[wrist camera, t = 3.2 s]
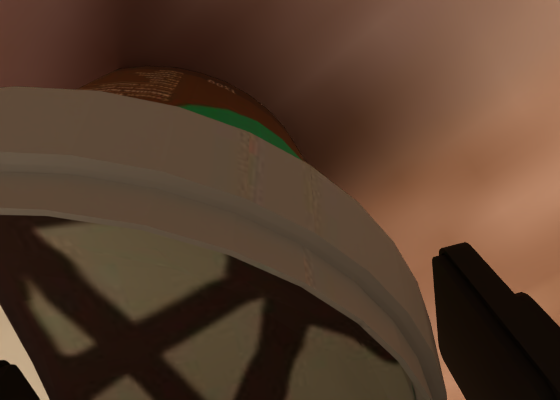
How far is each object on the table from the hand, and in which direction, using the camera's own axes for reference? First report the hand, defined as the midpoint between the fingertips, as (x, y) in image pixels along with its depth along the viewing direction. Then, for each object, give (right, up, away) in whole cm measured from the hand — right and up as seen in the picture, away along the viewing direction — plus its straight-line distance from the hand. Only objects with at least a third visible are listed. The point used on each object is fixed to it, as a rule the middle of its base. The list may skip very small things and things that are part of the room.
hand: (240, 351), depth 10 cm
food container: (0, +4, +5) cm, 7 cm away
